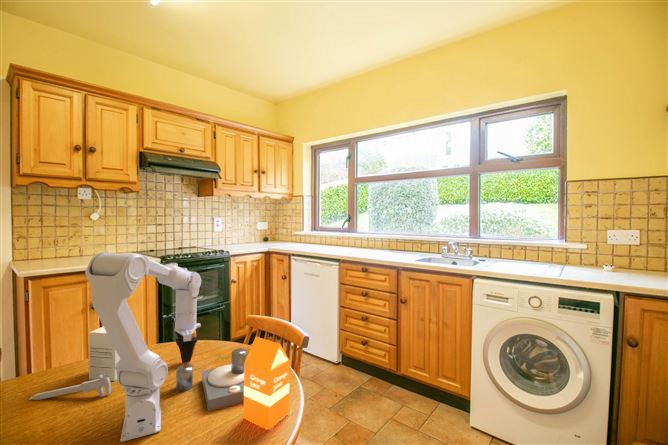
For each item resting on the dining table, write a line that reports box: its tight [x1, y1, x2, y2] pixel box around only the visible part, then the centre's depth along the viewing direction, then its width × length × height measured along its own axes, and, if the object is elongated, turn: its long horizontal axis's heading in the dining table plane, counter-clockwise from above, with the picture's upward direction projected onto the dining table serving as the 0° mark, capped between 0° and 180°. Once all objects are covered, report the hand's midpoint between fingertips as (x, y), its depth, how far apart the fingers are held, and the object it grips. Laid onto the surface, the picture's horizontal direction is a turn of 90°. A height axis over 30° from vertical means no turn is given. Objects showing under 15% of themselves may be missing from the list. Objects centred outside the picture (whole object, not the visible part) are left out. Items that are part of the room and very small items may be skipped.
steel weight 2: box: [230, 347, 248, 374], centre depth 96 cm, size 4×4×6 cm
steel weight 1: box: [175, 363, 194, 393], centre depth 93 cm, size 4×4×6 cm
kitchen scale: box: [201, 364, 244, 412], centre depth 93 cm, size 17×14×4 cm
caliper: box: [28, 374, 112, 401], centre depth 87 cm, size 20×1×6 cm, turn 98°
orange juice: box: [243, 336, 291, 429], centre depth 80 cm, size 8×9×20 cm
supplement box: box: [88, 325, 120, 382], centre depth 100 cm, size 9×9×15 cm
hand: (185, 356), depth 93 cm, fingers open, 7 cm apart
